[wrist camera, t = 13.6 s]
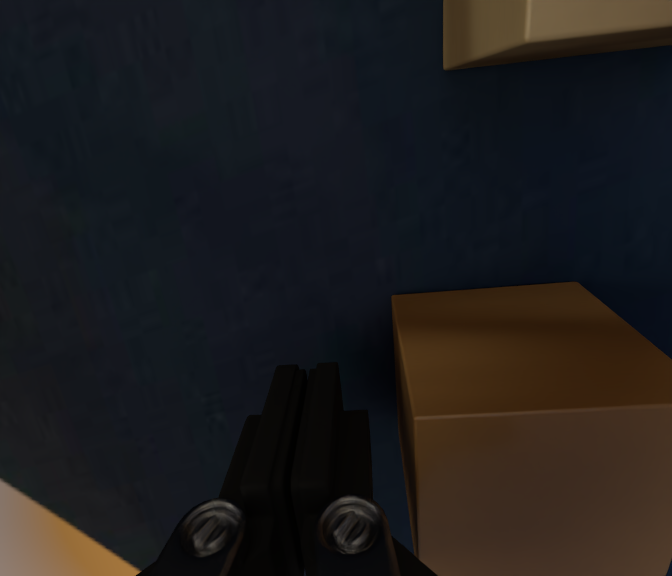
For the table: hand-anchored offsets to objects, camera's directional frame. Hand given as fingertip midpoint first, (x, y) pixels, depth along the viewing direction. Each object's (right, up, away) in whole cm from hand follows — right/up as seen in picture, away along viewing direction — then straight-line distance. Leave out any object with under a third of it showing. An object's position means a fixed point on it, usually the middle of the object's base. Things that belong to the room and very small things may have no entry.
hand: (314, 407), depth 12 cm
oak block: (+5, +1, +1) cm, 5 cm away
